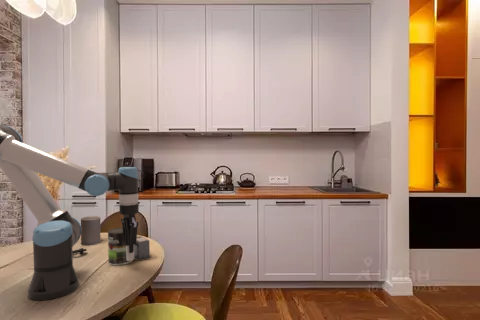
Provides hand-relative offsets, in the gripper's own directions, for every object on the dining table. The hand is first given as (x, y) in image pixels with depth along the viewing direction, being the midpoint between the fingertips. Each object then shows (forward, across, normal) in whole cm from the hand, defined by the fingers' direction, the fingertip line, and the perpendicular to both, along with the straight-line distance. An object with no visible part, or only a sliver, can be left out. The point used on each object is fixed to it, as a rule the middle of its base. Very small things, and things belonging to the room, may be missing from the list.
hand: (130, 259), depth 126 cm
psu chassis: (+3, +14, -9) cm, 17 cm away
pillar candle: (+4, +52, +1) cm, 52 cm away
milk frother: (+4, +38, +16) cm, 41 cm away
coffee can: (+4, +11, 0) cm, 11 cm away
